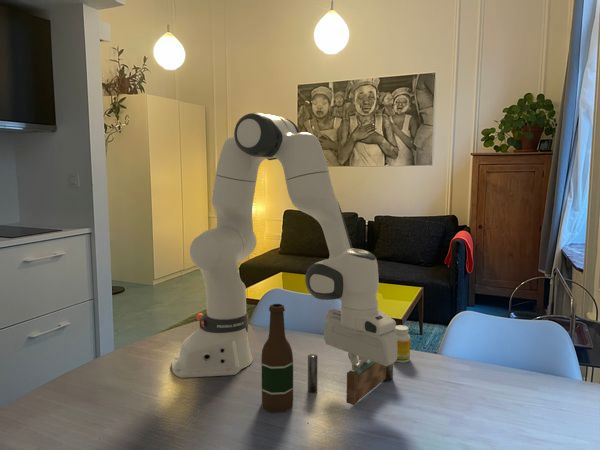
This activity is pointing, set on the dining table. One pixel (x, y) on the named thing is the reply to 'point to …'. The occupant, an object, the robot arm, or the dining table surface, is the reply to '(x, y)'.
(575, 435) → the dining table surface
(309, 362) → the posts
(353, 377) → the brown wooden panel
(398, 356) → the supplement bottle
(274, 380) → the beer bottle
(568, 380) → the dining table surface
